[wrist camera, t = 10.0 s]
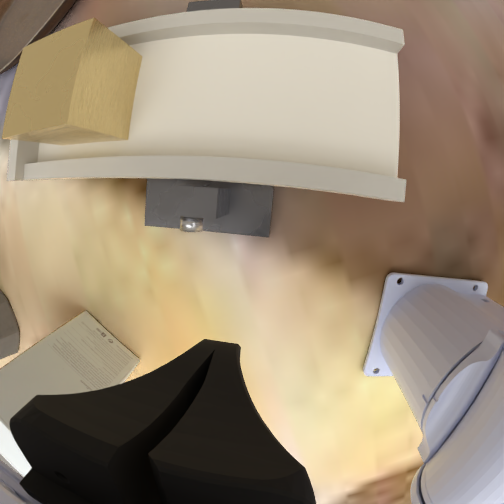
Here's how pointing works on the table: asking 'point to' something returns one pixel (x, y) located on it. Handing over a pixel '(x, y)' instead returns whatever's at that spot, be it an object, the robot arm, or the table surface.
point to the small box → (60, 373)
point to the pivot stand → (209, 192)
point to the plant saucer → (26, 25)
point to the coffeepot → (8, 329)
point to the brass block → (74, 88)
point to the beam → (250, 105)
